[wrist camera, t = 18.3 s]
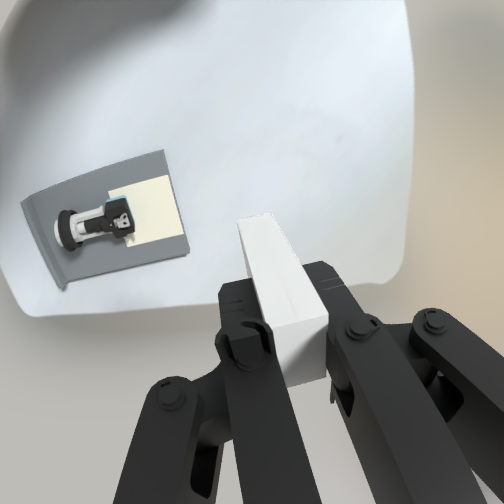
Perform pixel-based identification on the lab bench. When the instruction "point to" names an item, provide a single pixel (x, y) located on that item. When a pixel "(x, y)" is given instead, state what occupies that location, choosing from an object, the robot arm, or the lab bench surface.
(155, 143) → the lab bench surface
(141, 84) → the lab bench surface
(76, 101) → the lab bench surface
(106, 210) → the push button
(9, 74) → the lab bench surface
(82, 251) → the grey lipped board
